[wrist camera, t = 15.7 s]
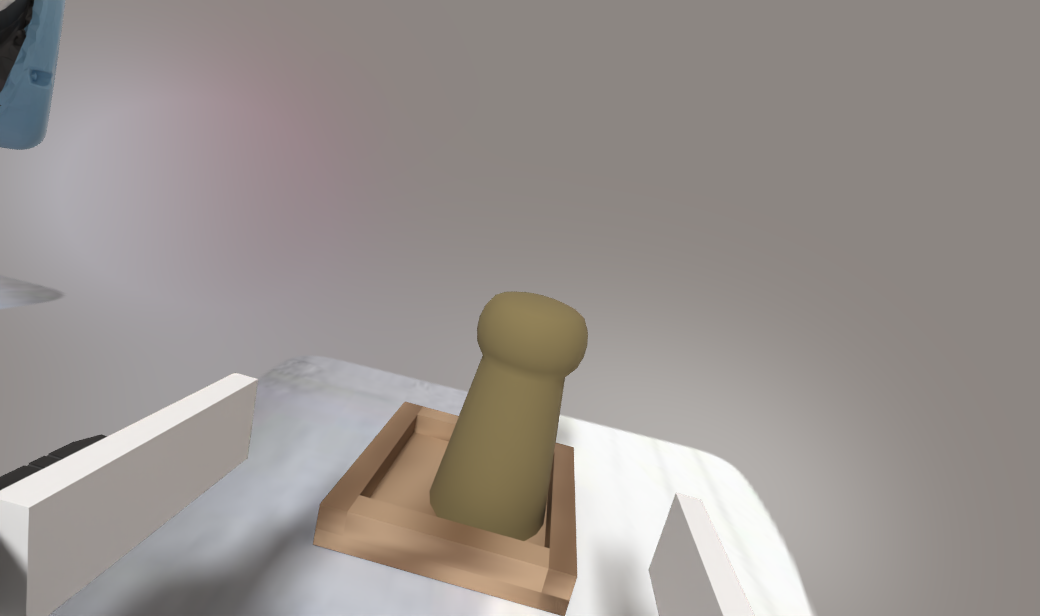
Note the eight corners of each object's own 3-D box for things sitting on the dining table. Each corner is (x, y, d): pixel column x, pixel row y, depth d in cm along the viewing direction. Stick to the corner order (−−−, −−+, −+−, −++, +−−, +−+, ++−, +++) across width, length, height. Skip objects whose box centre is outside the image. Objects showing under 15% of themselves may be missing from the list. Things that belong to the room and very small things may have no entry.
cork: (407, 512, 23) (457, 288, 21) (456, 455, 29) (500, 274, 26) (529, 563, 22) (598, 331, 19) (554, 493, 28) (610, 307, 25)
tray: (313, 544, 21) (319, 503, 20) (399, 429, 32) (404, 401, 31) (564, 616, 20) (577, 576, 20) (565, 475, 31) (573, 447, 31)
